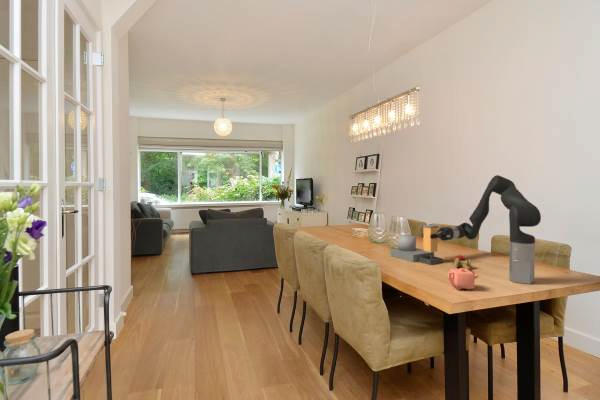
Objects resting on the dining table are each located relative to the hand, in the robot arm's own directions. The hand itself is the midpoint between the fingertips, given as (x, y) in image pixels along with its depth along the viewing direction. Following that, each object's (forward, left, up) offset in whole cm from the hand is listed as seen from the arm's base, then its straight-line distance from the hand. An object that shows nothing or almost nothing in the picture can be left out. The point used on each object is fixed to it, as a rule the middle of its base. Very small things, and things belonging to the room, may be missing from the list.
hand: (426, 235), depth 182 cm
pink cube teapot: (-38, -23, -15) cm, 47 cm away
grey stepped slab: (+7, +6, -15) cm, 17 cm away
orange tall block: (+2, -1, -8) cm, 9 cm away
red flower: (-5, -19, -15) cm, 25 cm away
